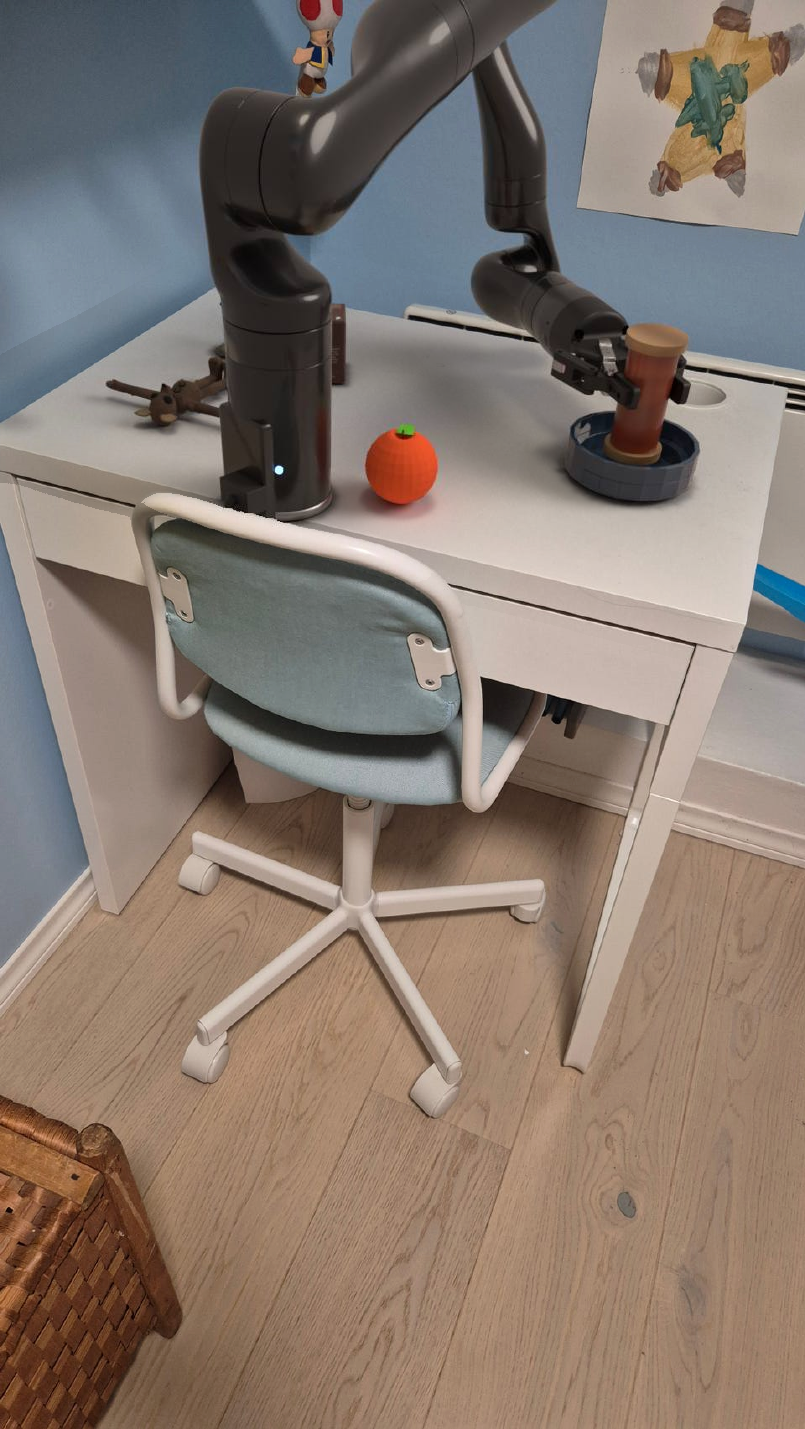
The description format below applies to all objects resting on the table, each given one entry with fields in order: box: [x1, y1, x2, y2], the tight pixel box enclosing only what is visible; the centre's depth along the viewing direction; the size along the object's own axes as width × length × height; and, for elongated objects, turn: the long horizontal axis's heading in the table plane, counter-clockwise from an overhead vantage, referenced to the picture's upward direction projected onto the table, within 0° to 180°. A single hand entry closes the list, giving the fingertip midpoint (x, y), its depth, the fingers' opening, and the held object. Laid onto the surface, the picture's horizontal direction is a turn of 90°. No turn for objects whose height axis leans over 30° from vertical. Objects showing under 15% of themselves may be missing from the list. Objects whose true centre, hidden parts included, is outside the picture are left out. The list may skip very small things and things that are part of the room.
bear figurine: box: [105, 356, 227, 427], centre depth 107 cm, size 18×4×14 cm
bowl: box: [564, 410, 701, 502], centre depth 100 cm, size 13×13×4 cm
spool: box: [603, 322, 690, 466], centre depth 96 cm, size 6×6×12 cm
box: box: [332, 302, 347, 384], centre depth 114 cm, size 6×6×7 cm
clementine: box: [364, 423, 439, 505], centre depth 93 cm, size 8×7×7 cm
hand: (660, 397), depth 93 cm, fingers closed on spool, 4 cm apart
